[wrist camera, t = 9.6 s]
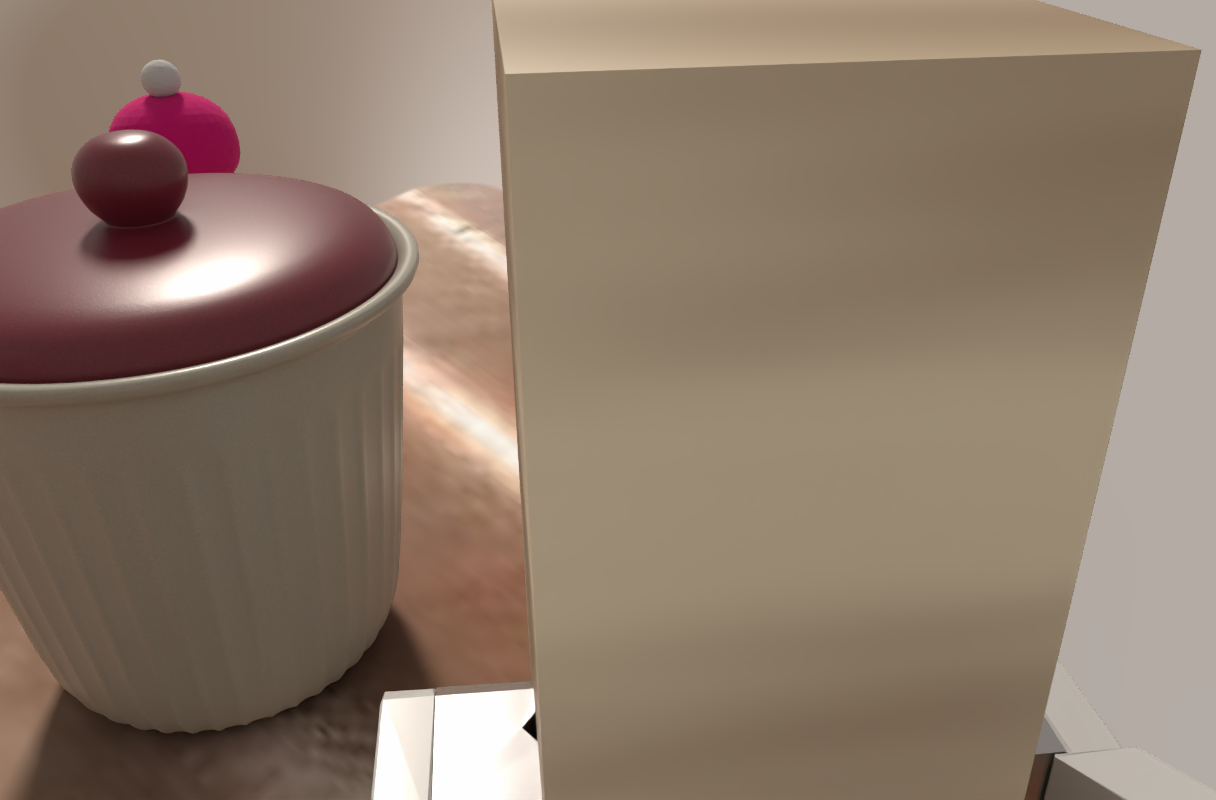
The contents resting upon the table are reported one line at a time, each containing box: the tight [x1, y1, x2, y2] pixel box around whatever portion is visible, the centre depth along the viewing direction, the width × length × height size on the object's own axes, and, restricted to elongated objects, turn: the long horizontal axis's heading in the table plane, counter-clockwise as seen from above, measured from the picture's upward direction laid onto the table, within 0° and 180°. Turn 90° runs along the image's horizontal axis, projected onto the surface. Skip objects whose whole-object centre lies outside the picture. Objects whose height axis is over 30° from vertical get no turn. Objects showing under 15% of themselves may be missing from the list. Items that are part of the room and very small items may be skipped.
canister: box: [0, 130, 419, 734], centre depth 40 cm, size 18×18×21 cm
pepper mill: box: [109, 60, 240, 174], centre depth 56 cm, size 7×7×20 cm
